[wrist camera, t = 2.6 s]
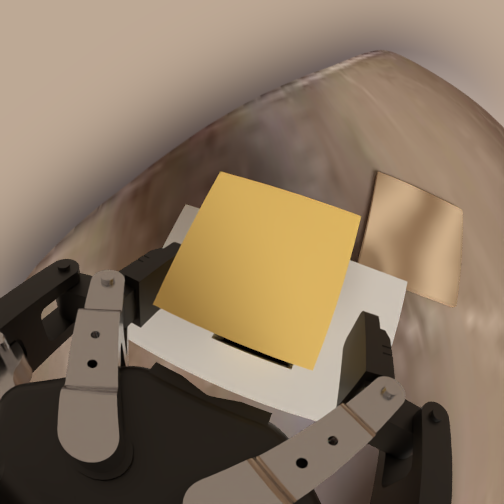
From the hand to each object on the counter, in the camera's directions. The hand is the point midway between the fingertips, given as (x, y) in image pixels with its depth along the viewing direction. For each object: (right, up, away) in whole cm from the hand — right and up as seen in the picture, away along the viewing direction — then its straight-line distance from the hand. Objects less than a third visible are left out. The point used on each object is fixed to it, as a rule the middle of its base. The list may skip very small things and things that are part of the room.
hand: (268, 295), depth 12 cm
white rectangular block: (0, -3, +8) cm, 8 cm away
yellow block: (0, -3, +8) cm, 8 cm away
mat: (+14, +3, +9) cm, 17 cm away
